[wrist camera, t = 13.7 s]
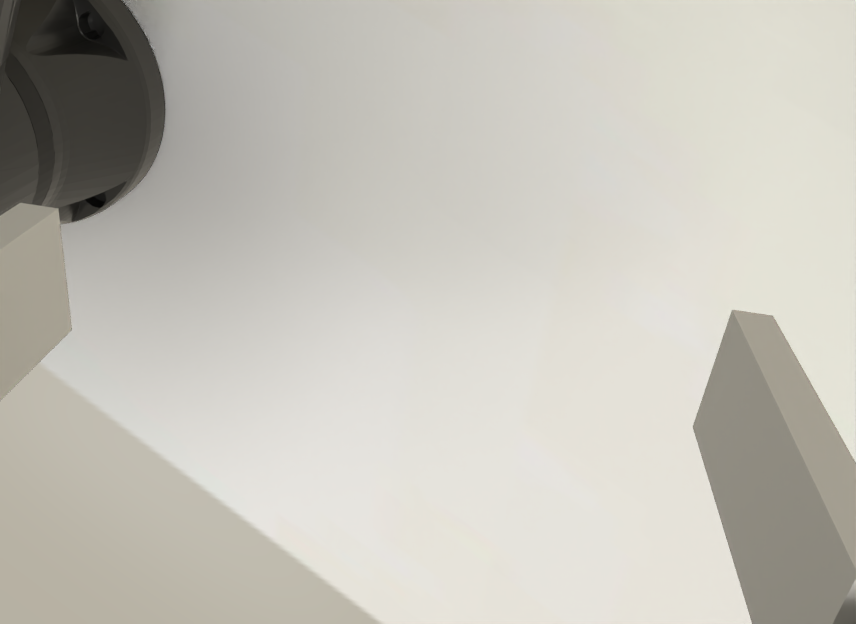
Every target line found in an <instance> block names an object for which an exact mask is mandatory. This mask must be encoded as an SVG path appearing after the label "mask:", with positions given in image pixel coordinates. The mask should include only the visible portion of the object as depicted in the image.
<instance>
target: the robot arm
mask: <svg viewBox="0 0 856 624" xmlns="http://www.w3.org/2000/svg"><path fill="white" fill-rule="evenodd" d="M164 117H165V105H164V93H163V87H162V82H161V77H160V73H159V70H158V66H157V63H156V60H155V57H154V55H153V52H152V50H151V48H150V45H149V43H148V41H147V39H146V37H145V35H144V33H143V31H142V30H141V28H140V26H139V25H138V23H137V21H136V20H135V18H134V17H133V16H132V14H131V13H130V11H129V10H128V9H127V7H126V6H125V5H124V4H123V2H122V1H121V0H0V401H1V400H2V399H3V398H4V397H5V396H6V395H7V394H8V393H9V392H10V391H11V390H12V389H13V388H14V387H15V386H16V385H17V384H18V383H19V382H20V381H21V380H22V379H23V378H24V377H25V376H26V375H27V374H28V373H29V372H30V371H31V370H32V369H33V368H34V367H35V366H36V365H37V364H38V363H39V362H40V361H41V360H42V359H43V358H44V357H45V356H46V355H47V354H48V353H49V352H50V351H51V350H52V349H53V348H54V347H55V346H56V345H57V344H58V343H59V342H60V341H61V340H62V339H63V338H64V337H65V336H66V335H67V334H68V333H69V332H70V331H71V330H72V325H71V316H70V307H69V298H68V290H67V281H66V272H65V263H64V254H63V245H62V236H61V228H60V224H66V223H72V222H76V221H79V220H83V219H86V218H88V217H91V216H93V215H96V214H98V213H100V212H102V211H103V210H105V209H107V208H108V207H110V206H111V205H113V204H114V203H115V202H117V201H118V200H119V199H121V198H122V197H124V196H125V195H126V194H128V193H129V192H130V191H131V190H132V189H134V188H135V187H136V186H137V185H138V184H139V182H140V181H141V180H142V179H143V178H144V176H145V175H146V174H147V172H148V171H149V169H150V167H151V166H152V164H153V162H154V160H155V157H156V155H157V152H158V150H159V146H160V143H161V139H162V135H163V128H164ZM693 429H694V432H695V436H696V439H697V442H698V446H699V449H700V452H701V456H702V459H703V462H704V466H705V469H706V472H707V476H708V479H709V482H710V485H711V489H712V492H713V495H714V499H715V502H716V505H717V509H718V512H719V515H720V519H721V522H722V525H723V529H724V532H725V535H726V538H727V542H728V545H729V548H730V552H731V555H732V558H733V562H734V565H735V568H736V572H737V575H738V578H739V581H740V585H741V588H742V591H743V595H744V598H745V601H746V605H747V608H748V611H749V615H750V618H751V621H752V624H856V463H855V461H854V459H853V457H852V456H851V454H850V452H849V450H848V448H847V447H846V445H845V443H844V441H843V440H842V438H841V436H840V434H839V432H838V431H837V429H836V427H835V425H834V424H833V422H832V420H831V418H830V416H829V415H828V413H827V411H826V409H825V408H824V406H823V404H822V402H821V400H820V399H819V397H818V395H817V393H816V392H815V390H814V388H813V386H812V384H811V383H810V381H809V379H808V377H807V375H806V374H805V372H804V370H803V368H802V367H801V365H800V363H799V361H798V359H797V358H796V356H795V354H794V352H793V351H792V349H791V347H790V345H789V343H788V342H787V340H786V338H785V336H784V335H783V333H782V331H781V329H780V327H779V326H778V324H777V322H776V320H775V319H774V317H773V316H771V315H764V314H757V313H751V312H744V311H737V310H732V312H731V315H730V318H729V321H728V324H727V327H726V330H725V333H724V336H723V339H722V342H721V345H720V348H719V351H718V354H717V357H716V359H715V362H714V365H713V368H712V371H711V374H710V377H709V380H708V383H707V386H706V389H705V392H704V395H703V398H702V401H701V404H700V407H699V410H698V413H697V416H696V419H695V422H694V425H693Z"/></svg>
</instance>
